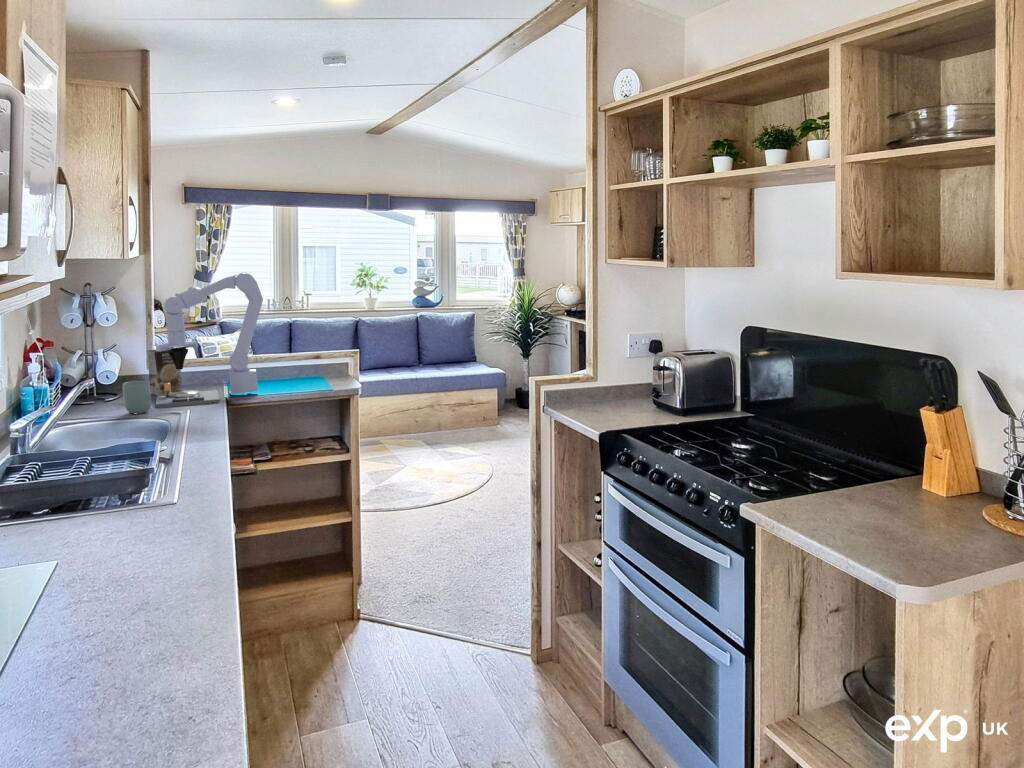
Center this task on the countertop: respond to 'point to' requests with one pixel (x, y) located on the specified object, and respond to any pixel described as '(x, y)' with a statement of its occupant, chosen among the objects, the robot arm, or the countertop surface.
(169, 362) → the coffee box
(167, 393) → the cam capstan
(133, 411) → the cup
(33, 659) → the countertop surface
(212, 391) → the gray mechanism base plate
